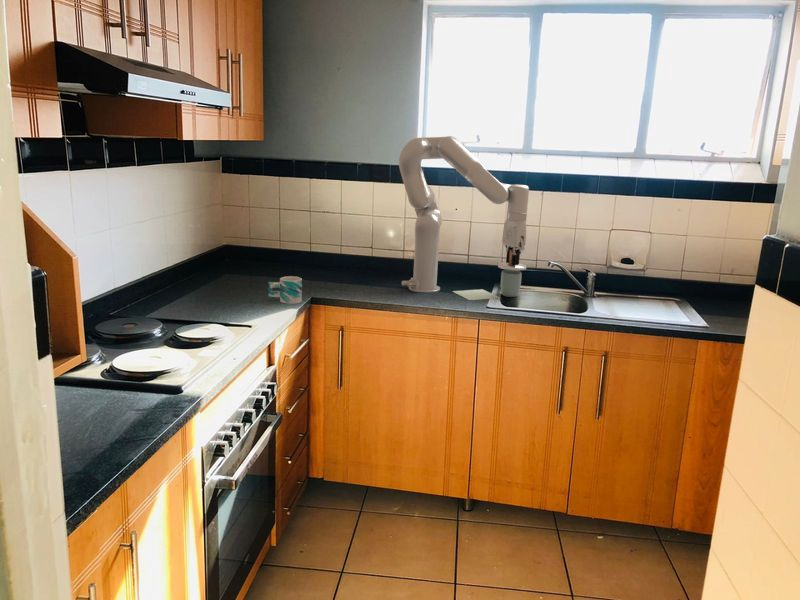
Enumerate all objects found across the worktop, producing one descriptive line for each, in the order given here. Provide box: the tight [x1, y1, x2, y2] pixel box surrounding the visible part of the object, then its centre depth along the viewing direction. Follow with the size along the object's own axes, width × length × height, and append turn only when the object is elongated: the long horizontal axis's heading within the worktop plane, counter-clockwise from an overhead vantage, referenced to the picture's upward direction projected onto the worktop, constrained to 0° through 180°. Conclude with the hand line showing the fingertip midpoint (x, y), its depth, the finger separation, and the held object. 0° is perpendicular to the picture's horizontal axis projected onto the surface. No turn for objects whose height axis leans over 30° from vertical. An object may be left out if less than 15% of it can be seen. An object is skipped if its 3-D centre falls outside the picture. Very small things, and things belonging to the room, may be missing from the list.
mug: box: [267, 275, 303, 305], centre depth 240 cm, size 8×12×8 cm
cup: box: [500, 269, 522, 298], centre depth 262 cm, size 8×8×10 cm
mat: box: [451, 288, 501, 301], centre depth 261 cm, size 14×14×1 cm
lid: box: [497, 249, 527, 271], centre depth 259 cm, size 11×11×7 cm
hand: (512, 263), depth 259 cm, fingers closed on lid, 3 cm apart
